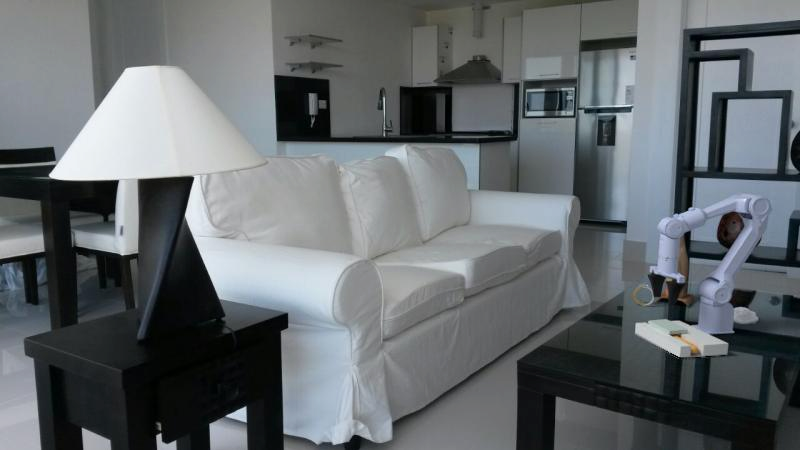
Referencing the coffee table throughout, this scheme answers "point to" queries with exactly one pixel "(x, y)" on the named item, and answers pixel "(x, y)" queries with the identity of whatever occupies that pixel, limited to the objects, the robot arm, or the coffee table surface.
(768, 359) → the coffee table surface
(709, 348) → the board
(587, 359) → the coffee table surface
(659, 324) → the cover
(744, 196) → the robot arm
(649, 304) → the ring
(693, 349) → the orange rounded rod
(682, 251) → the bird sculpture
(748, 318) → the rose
